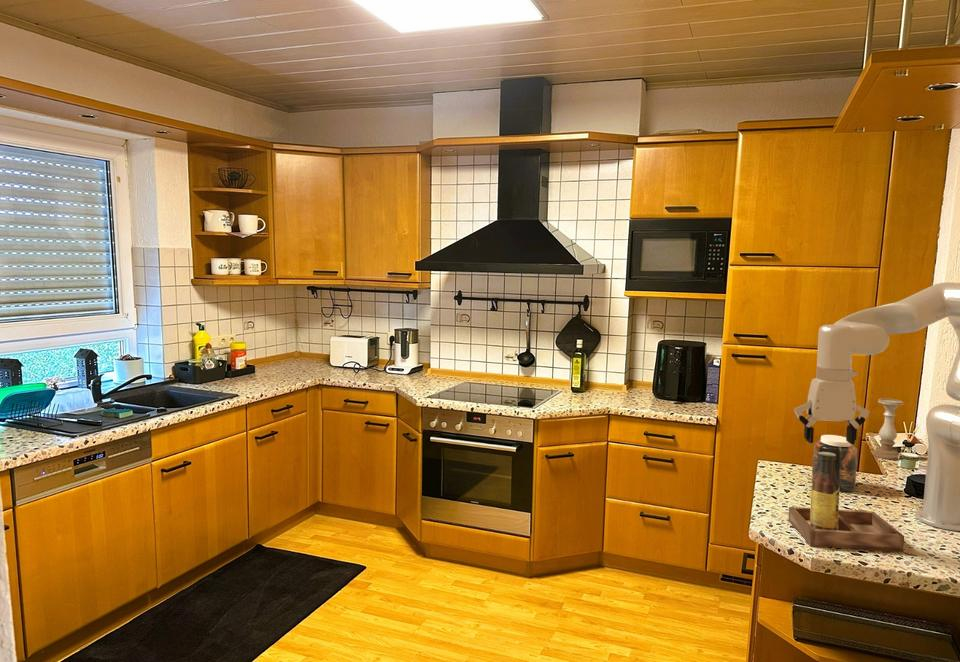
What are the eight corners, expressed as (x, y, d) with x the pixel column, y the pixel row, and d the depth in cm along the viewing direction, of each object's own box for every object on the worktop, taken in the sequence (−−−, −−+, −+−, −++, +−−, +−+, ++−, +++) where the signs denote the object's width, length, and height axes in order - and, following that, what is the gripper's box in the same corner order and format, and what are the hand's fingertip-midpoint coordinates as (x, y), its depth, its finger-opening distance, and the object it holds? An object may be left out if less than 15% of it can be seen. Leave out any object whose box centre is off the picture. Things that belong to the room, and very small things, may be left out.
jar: (813, 488, 193) (816, 441, 191) (809, 477, 203) (812, 431, 202) (857, 494, 188) (861, 445, 187) (851, 482, 199) (855, 435, 197)
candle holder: (867, 451, 232) (872, 397, 229) (894, 453, 230) (898, 398, 228) (877, 458, 223) (882, 402, 221) (905, 460, 221) (910, 404, 219)
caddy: (872, 526, 166) (873, 511, 165) (902, 552, 151) (904, 536, 150) (788, 521, 168) (789, 506, 168) (809, 546, 153) (811, 530, 153)
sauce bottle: (840, 536, 156) (846, 459, 154) (813, 534, 158) (818, 457, 155) (831, 526, 163) (837, 451, 160) (805, 523, 164) (810, 449, 162)
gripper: (863, 372, 158) (859, 439, 160) (791, 371, 160) (787, 437, 162) (878, 378, 151) (874, 447, 153) (802, 377, 153) (798, 445, 155)
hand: (829, 442), depth 158 cm, fingers open, 9 cm apart
